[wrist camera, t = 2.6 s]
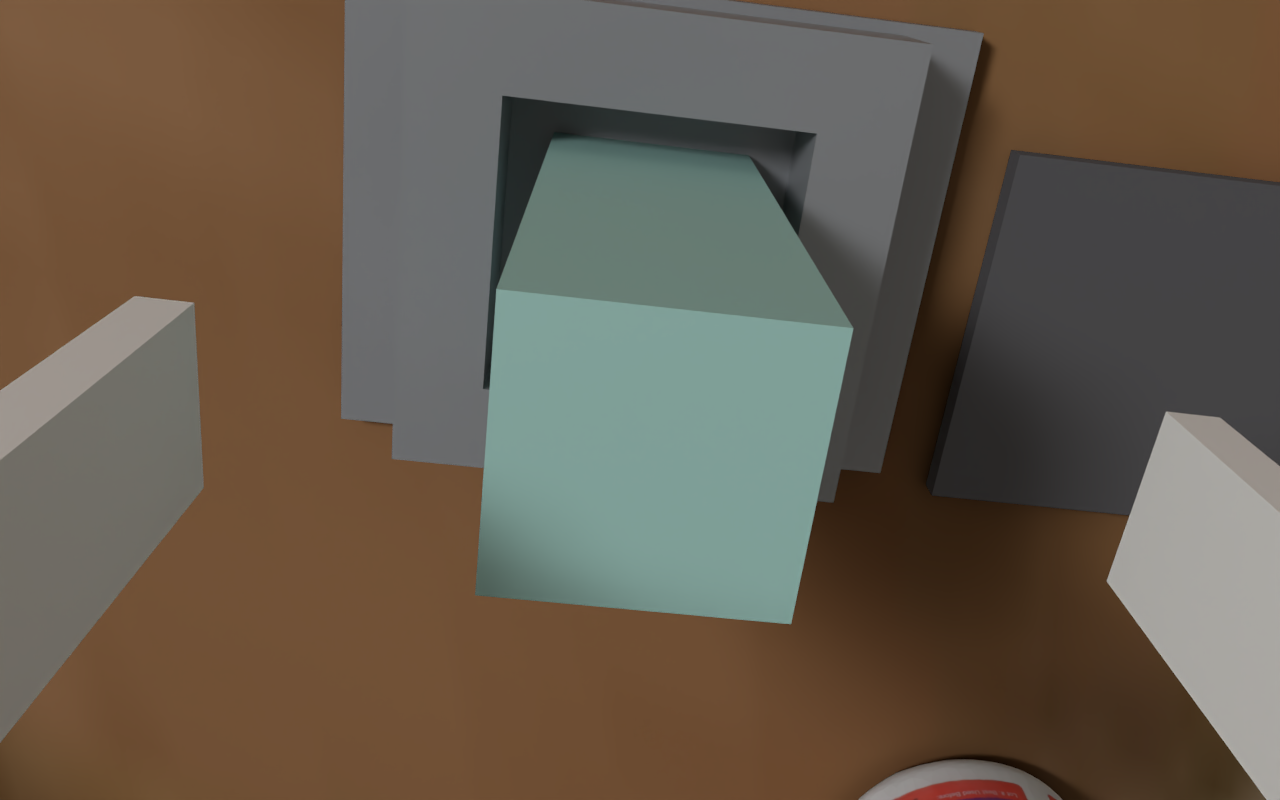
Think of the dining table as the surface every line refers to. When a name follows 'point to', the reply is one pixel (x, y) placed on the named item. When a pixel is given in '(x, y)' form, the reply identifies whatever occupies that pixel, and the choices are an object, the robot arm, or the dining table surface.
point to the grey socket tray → (640, 112)
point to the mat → (1110, 330)
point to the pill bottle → (961, 783)
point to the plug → (656, 388)
